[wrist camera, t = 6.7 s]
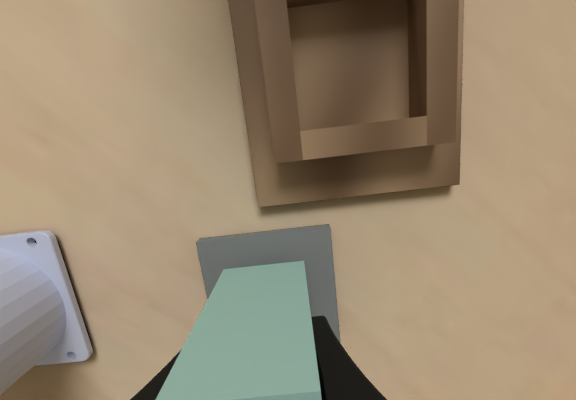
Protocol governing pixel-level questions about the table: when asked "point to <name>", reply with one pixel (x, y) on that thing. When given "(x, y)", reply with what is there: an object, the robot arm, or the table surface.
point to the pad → (278, 261)
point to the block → (250, 340)
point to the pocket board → (350, 95)
